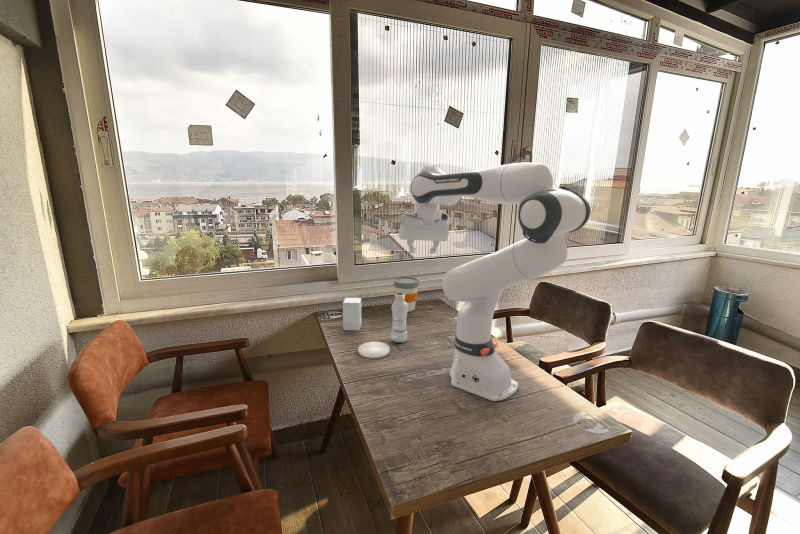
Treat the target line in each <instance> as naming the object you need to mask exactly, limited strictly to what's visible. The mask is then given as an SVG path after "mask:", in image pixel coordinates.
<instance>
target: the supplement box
mask: <svg viewBox="0 0 800 534" xmlns="http://www.w3.org/2000/svg"><path fill="white" fill-rule="evenodd" d="M342 323H343V324H342V326H343V327H342V330H343V331H361V326H362V297H345V298H344V299H343V302H342Z"/></svg>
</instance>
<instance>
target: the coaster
mask: <svg viewBox="0 0 800 534" xmlns="http://www.w3.org/2000/svg"><path fill="white" fill-rule="evenodd" d="M390 349H391V348H390V346H389V344H387V343H385V342H383V341H381V342H380V341H368V342H364V343H362V344H360V345H359V346H358V348H357V351H358V355H360V356H362V357H364V358H368V359H380V358H383V357H386V356H388V355H389V354H390V351H391V350H390Z"/></svg>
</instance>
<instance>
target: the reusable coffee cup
mask: <svg viewBox="0 0 800 534" xmlns="http://www.w3.org/2000/svg"><path fill="white" fill-rule="evenodd" d="M419 283H420V282H419V279H418V278H416V277H413V276H399V277H396V278H394V279H393V287H394V290H393V294H394V296H395V294H396V293H404V297H405V299H404V300H405V302H406V303H407V305H408V311H407V313H408V312H413V311H414V310H415V309H416V303H417V300H418V294H419V290H418V288H419V285H420V284H419ZM395 300H396V299H395V298H394V301H395Z"/></svg>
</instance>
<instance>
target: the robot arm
mask: <svg viewBox="0 0 800 534" xmlns="http://www.w3.org/2000/svg"><path fill="white" fill-rule="evenodd" d="M410 192H411V195H412V197H413V199H414V205H413V212H405V213H403V214H402V215H401V217H400V225H399V231H398V238H399V239H400V240H405V241H406V244H407V246H408V248H409V249H408V250H409V251H408V252H409V254H415V253H416V250H417V248H415V247H414V245H413V244H414V243H415V241H426V242H427V241H429V242H432V244H433V245H432V247H431V248H430V249H429V253H430V254H436V253H437V248H438V247H439V245H440V242H446V241H448V239H449V236H450V235H449V234H450V227H449V226H450V225H449V221H450V215H449V214H447V213H446V212H443V210H440V205H441V206H455V205H457V204H458V203H460V201H461V199H462V197H468V198H471V199H476V200H480V201H483V202H488V203H493V204H498V205H519V206H518V210H517V211H518V212H517V219H518V224H519V227H520V228H521V229H522V235H523V236H524V238H523V239H521V240H519V241H516V242H515V243H512V244H510V245H508V246H506V247H504V248H501V249H500V250H498V251H495V252H492V253H489V254H487V255H485V256H482V257H478V258H477V259H473V260H471V261H469V262H465V263H464V264H461V265H459V266H457V267H455V268H452V269H450V270H449V271H447V272H445V274H444V275H443V277H442V281H441V282H442V283H441V284H442V290H443V293H444V294H445V296H446V297H447V298H448V299H449V300H450V301H452V302H458V303H459V302H460V303H461V302H464V304H463V305H462V307H461V308H460V309H459V310H458V313H457V317H456V318H457V319H456V320H457V321H456V334H455V335H454V349H455V350H454V356H453V361H452V365H451V368H450V371H449V376H450V379H451V383H450V384H451V386H453V387H455V388H457V389H460V390H463V391H465V392H468V393H471V394H473V395H476V396H477V397H482V398H484V399H487V400H489V401H491V402H498V401H504V400H505V399H508V398H510V397H511V396H513V395H514V394H516V393H517V391H518V389H519V382H518V381H516V380H514V379H513V378H512V374H511V373H512V372H511V368H510V366H509V365H508V364H507V363H506V361H504V360H503V359H502V357H501V356H500V355H499V354H498V352H497V351H496V348H497V347H498V344H499V343H498V342H496V343H495V344H494V341H493V339H492V328H493V318H494V314H495V310H496V307H497V305H498V302H499V300H500V297H501V295H502V293H503V291H504V290H506V289H508V288H512V287H514V286H518V285H520V284H523V283H526V282H529V281H531V280H534V279H536V278H537V279H538V278H540V277H542V276H545V275H546V274H549V273H550V272H552V271H554V270H556V269H558V268H559V267H560V266H562V265H563V264H564V263H565V262H566V260H567V259H568V248H567V247H568V246H567V245H566V242H565V237H566V234H567V233H573V232H576V231H579V230H580V229H581V228H582V227H584V226H585V225H586V224H587V223H588V221H589V219H590V217H591V213H592V210H591V205H590V202H589V201H588V200H587V199H586V197H584V196H583V195H581V194H580V193H578V192H576V191H574V190H572V189H570V188H568V187H566V186H564V185H563V186H559V187H558V186H556V185H555V178H554V172H553V171H552V169H551V167H549V166H548V165H547V164H546V163H542V162H541V163H540V162H512V163H508V164H507V163H506V164H501V165H497V166H491V167H488V168H482V169H478V170H473V171H468V172H466V171H465V172H462V173H461V172H459V173H457V172H456V173H448V174H447V173H445V172H444V171H443V170H442V168H440V167H438V166H436V165H428V166H422V167H421V168H420V169H419V171H418V173H417V174H416V175H415V176H414V178H413V179H412V181H411V183H410Z"/></svg>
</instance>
